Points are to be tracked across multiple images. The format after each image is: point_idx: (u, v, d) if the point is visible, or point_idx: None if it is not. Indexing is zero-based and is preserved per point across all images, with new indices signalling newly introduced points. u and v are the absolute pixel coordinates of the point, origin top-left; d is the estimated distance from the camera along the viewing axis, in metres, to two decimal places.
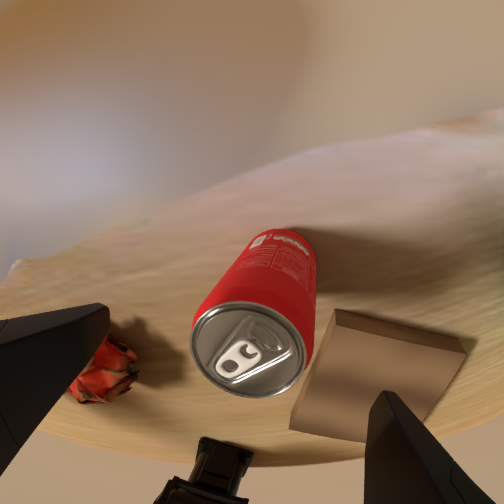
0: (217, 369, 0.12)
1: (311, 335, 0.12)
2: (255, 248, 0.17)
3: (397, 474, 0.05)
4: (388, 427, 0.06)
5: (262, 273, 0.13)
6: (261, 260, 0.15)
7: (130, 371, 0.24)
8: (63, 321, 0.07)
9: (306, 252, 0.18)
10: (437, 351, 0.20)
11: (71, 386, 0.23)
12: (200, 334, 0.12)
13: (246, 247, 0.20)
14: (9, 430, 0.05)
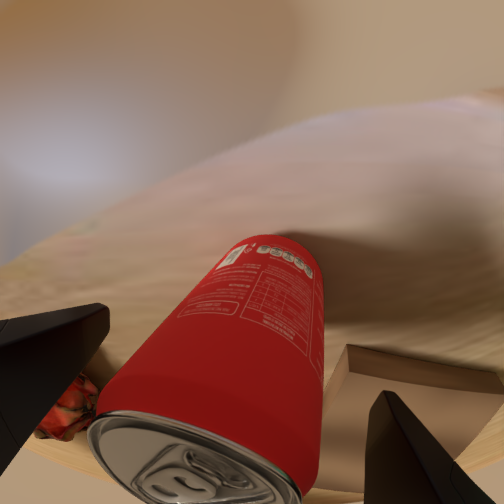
0: (144, 489, 0.05)
1: (315, 463, 0.05)
2: (223, 270, 0.10)
3: (397, 474, 0.05)
4: (388, 427, 0.06)
5: (218, 335, 0.06)
6: (224, 300, 0.08)
7: (86, 410, 0.17)
8: (63, 321, 0.07)
9: (309, 273, 0.12)
10: (476, 395, 0.13)
11: None
12: (100, 445, 0.05)
13: None
14: (9, 430, 0.05)
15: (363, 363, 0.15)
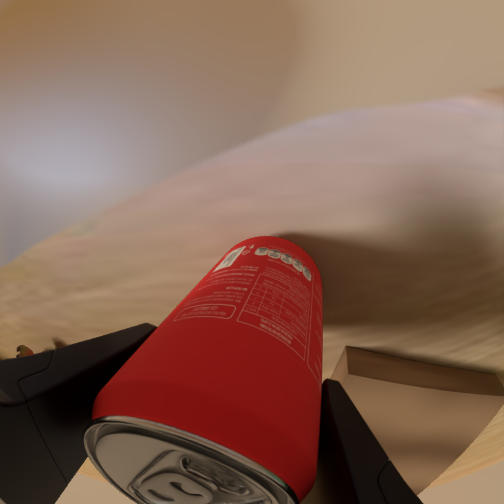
0: (140, 493, 0.05)
1: (312, 469, 0.05)
2: (221, 272, 0.10)
3: (326, 467, 0.05)
4: (324, 417, 0.07)
5: (214, 339, 0.06)
6: (221, 304, 0.08)
7: None
8: (117, 348, 0.07)
9: (307, 275, 0.12)
10: (476, 397, 0.13)
11: None
12: (96, 450, 0.05)
13: None
14: (57, 468, 0.05)
15: (362, 365, 0.15)
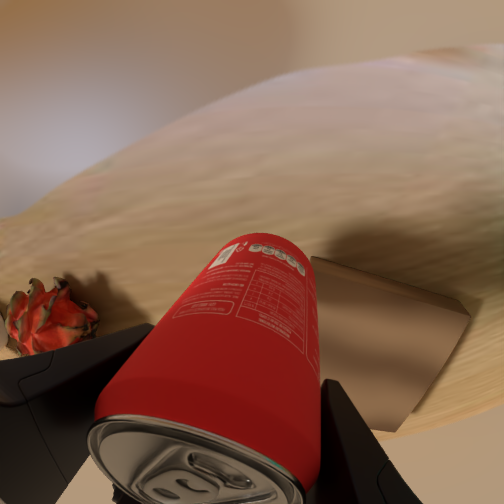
0: (145, 493, 0.05)
1: (316, 460, 0.05)
2: (216, 269, 0.10)
3: (325, 467, 0.05)
4: (323, 417, 0.07)
5: (215, 335, 0.06)
6: (219, 300, 0.08)
7: (86, 328, 0.22)
8: (117, 348, 0.07)
9: (301, 270, 0.12)
10: (435, 309, 0.17)
11: (27, 345, 0.20)
12: (100, 450, 0.05)
13: None
14: (58, 468, 0.05)
15: (324, 267, 0.19)
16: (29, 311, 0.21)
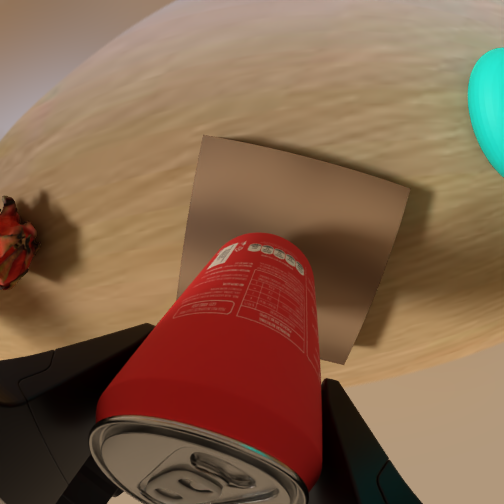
0: (147, 493, 0.05)
1: (319, 459, 0.05)
2: (216, 269, 0.10)
3: (325, 467, 0.05)
4: (323, 416, 0.07)
5: (216, 335, 0.06)
6: (219, 299, 0.08)
7: (20, 236, 0.20)
8: (117, 348, 0.07)
9: (300, 270, 0.12)
10: (357, 175, 0.16)
11: None
12: (102, 451, 0.05)
13: None
14: (58, 468, 0.05)
15: None
16: None
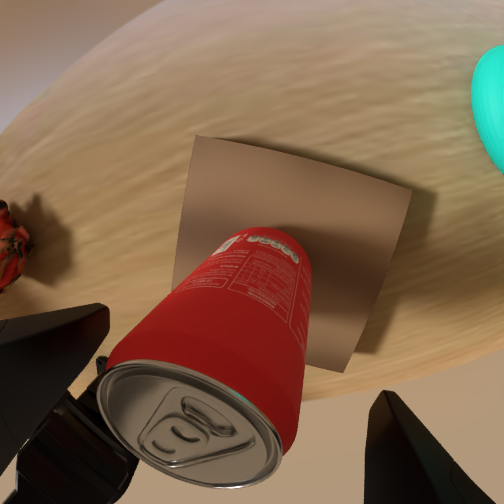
0: (145, 448, 0.07)
1: (292, 412, 0.06)
2: (217, 256, 0.11)
3: (397, 474, 0.05)
4: (388, 427, 0.06)
5: (208, 301, 0.07)
6: (215, 277, 0.09)
7: (12, 240, 0.19)
8: (63, 321, 0.07)
9: (295, 258, 0.13)
10: (357, 176, 0.15)
11: None
12: (108, 401, 0.06)
13: None
14: (9, 430, 0.05)
15: None
16: None
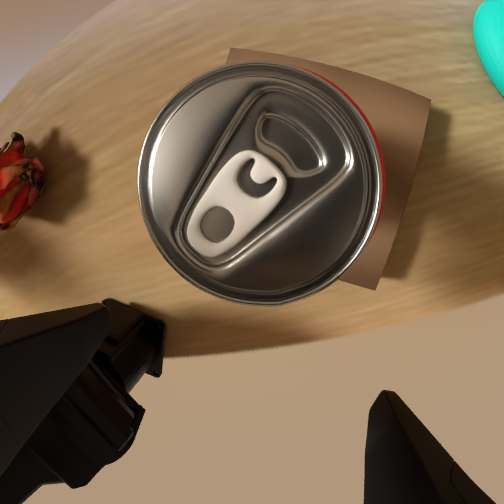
0: (188, 236, 0.06)
1: (380, 150, 0.05)
2: None
3: (397, 474, 0.05)
4: (388, 427, 0.06)
5: None
6: None
7: (26, 166, 0.19)
8: (63, 321, 0.07)
9: None
10: (380, 83, 0.14)
11: None
12: (156, 151, 0.06)
13: None
14: (9, 430, 0.05)
15: None
16: None
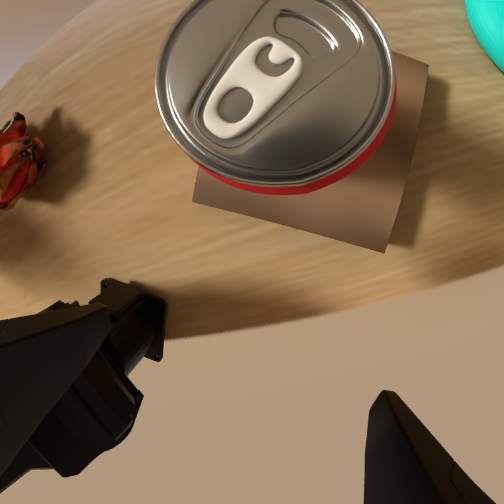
0: (205, 118, 0.05)
1: None
2: None
3: (397, 474, 0.05)
4: (388, 427, 0.06)
5: None
6: None
7: (27, 142, 0.18)
8: (63, 321, 0.07)
9: None
10: None
11: None
12: (177, 44, 0.05)
13: None
14: (9, 430, 0.05)
15: None
16: None
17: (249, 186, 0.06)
